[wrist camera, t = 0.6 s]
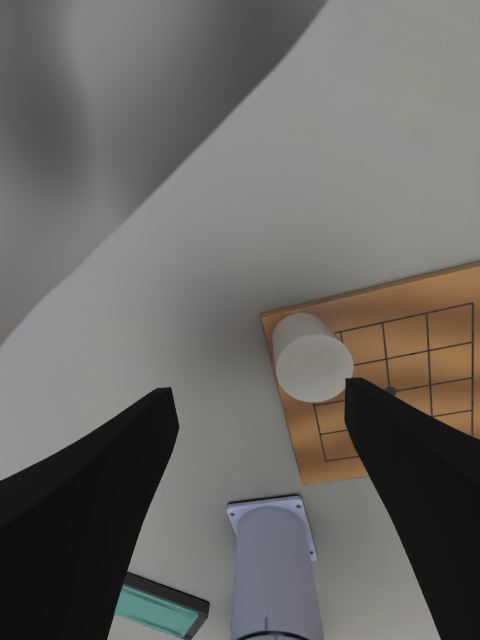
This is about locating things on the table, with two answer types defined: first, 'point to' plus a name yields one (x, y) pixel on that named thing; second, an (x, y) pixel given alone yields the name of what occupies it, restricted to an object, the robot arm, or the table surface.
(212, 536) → the table surface
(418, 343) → the go board
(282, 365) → the white stone
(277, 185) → the table surface
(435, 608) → the robot arm
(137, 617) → the smartphone
